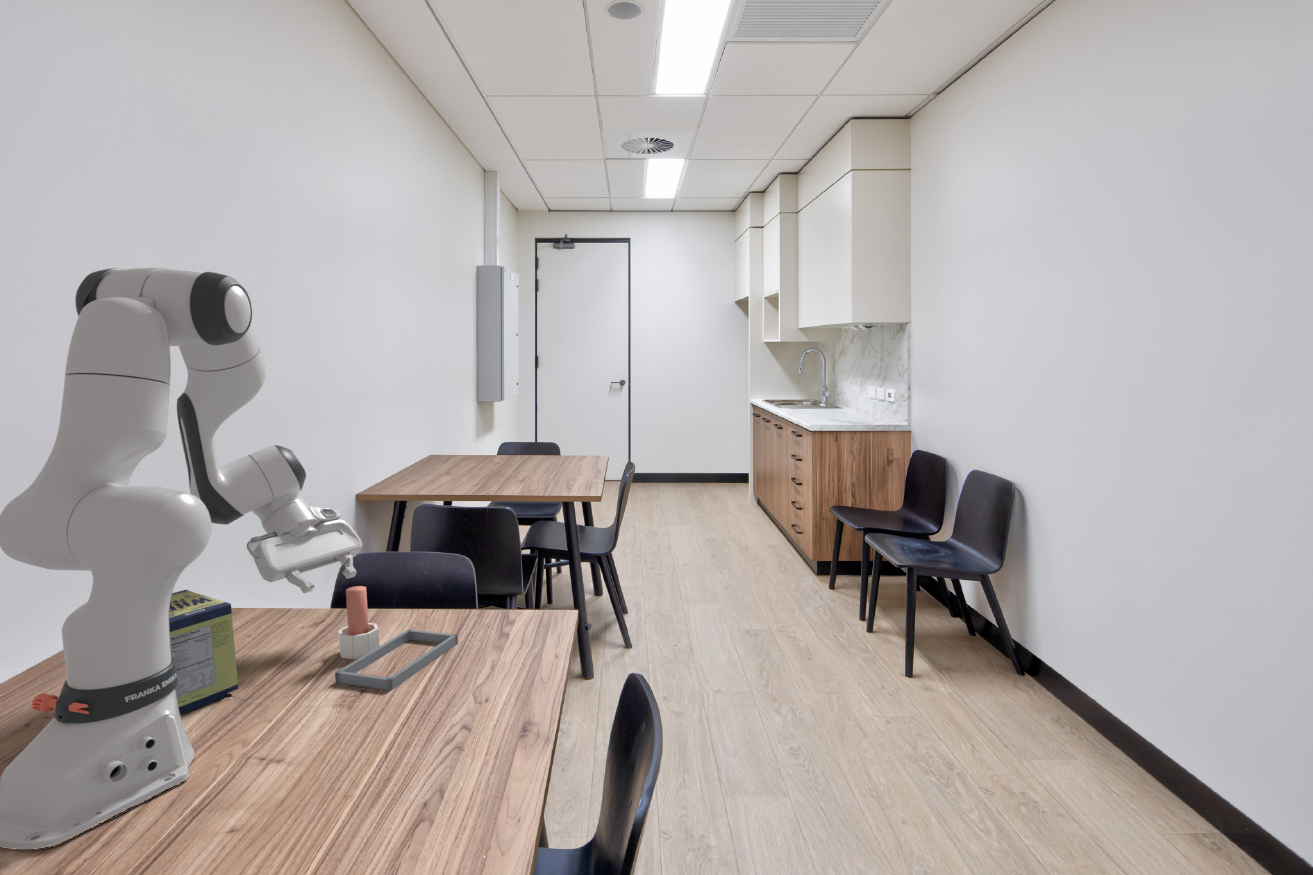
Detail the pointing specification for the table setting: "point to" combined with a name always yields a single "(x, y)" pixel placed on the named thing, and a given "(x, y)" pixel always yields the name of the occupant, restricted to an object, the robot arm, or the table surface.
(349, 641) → the cup
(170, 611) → the protein box
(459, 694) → the table surface
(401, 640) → the tray
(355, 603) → the sausage
